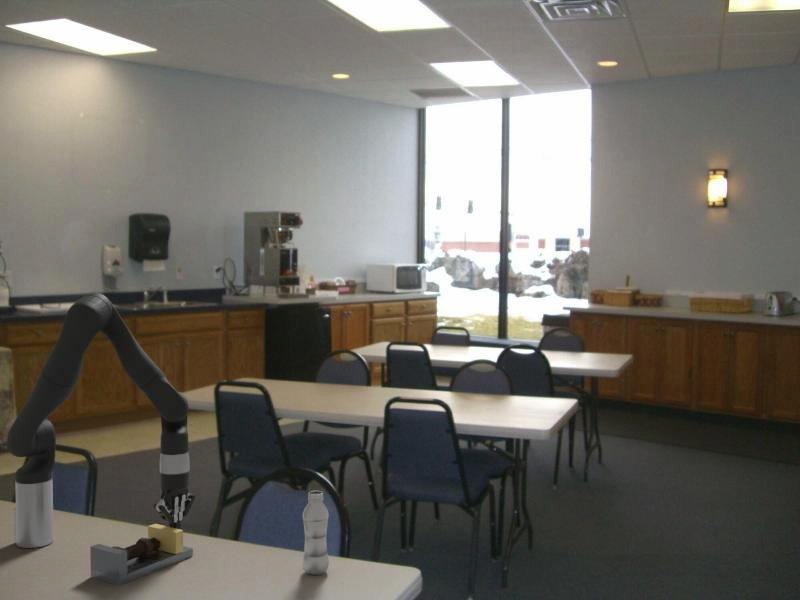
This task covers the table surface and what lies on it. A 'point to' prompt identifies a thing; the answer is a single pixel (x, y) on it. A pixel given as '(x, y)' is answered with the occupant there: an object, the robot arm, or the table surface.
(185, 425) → the robot arm
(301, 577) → the table surface
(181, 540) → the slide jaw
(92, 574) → the plate
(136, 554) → the bolt
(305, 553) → the plastic bottle
